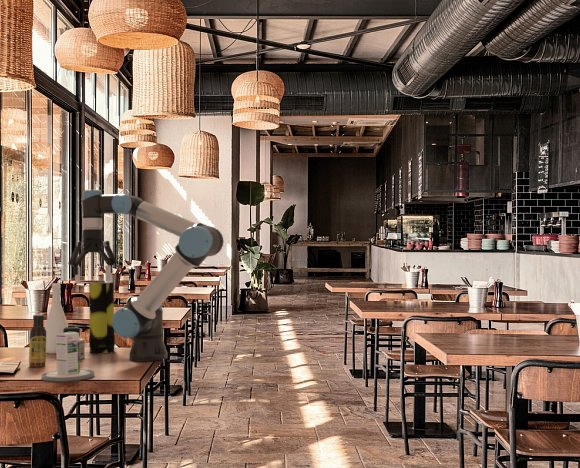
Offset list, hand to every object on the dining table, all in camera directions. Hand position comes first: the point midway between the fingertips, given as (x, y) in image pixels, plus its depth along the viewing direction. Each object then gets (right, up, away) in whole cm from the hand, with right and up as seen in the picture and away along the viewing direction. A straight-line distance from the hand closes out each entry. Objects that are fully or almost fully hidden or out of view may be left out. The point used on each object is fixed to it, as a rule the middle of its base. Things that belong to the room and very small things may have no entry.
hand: (93, 282), depth 302 cm
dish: (-1, -32, -32) cm, 45 cm away
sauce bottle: (-20, -32, -7) cm, 38 cm away
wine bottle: (-24, -33, +30) cm, 50 cm away
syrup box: (-1, -30, -32) cm, 44 cm away
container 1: (-12, -32, +11) cm, 36 cm away
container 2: (-4, -32, +29) cm, 43 cm away
